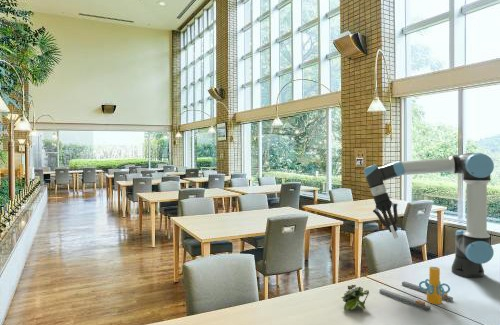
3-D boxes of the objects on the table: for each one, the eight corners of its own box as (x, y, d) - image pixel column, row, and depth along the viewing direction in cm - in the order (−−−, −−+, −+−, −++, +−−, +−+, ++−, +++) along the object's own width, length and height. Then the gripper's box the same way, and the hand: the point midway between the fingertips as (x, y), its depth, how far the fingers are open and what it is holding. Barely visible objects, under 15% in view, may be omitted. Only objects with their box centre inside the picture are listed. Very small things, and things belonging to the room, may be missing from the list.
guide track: (379, 292, 173) (379, 287, 173) (404, 284, 184) (404, 279, 183) (427, 311, 153) (428, 305, 153) (452, 300, 163) (453, 295, 163)
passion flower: (351, 316, 161) (359, 290, 166) (370, 321, 152) (378, 293, 156) (333, 306, 157) (342, 279, 162) (352, 310, 148) (361, 282, 152)
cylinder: (454, 306, 157) (455, 271, 157) (433, 308, 156) (433, 273, 155) (435, 295, 169) (435, 263, 169) (414, 297, 168) (415, 264, 167)
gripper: (366, 198, 195) (382, 242, 191) (389, 191, 188) (407, 236, 184) (370, 197, 201) (386, 239, 197) (393, 189, 194) (410, 233, 190)
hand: (396, 237), depth 190 cm, fingers closed
